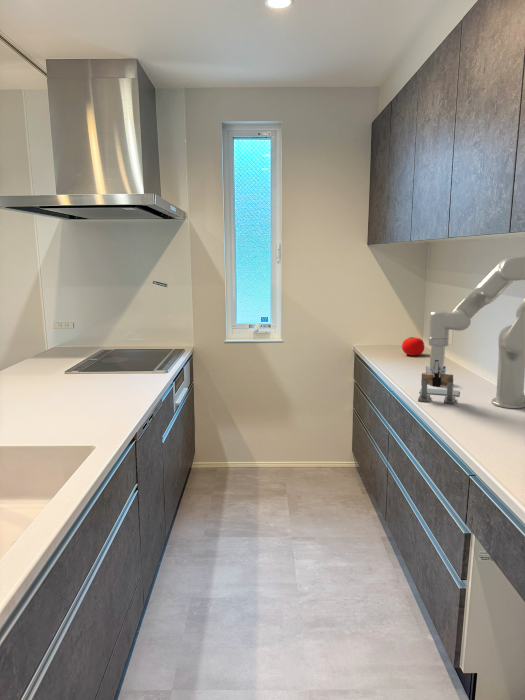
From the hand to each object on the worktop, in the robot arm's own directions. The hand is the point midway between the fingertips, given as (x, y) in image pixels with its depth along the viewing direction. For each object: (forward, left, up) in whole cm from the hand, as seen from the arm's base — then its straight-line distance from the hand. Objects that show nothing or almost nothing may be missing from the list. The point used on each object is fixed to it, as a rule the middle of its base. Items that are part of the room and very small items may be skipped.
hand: (436, 385), depth 198 cm
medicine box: (+3, -29, -7) cm, 30 cm away
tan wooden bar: (0, 0, 0) cm, 0 cm away
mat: (0, -13, -7) cm, 15 cm away
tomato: (+22, -99, -7) cm, 102 cm away
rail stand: (0, 0, -7) cm, 7 cm away
